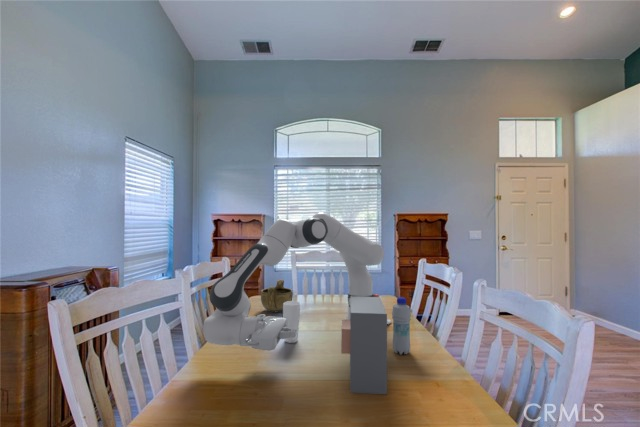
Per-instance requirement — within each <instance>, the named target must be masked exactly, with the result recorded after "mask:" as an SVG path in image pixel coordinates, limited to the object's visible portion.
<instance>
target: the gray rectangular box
mask: <svg viewBox="0 0 640 427" xmlns="http://www.w3.org/2000/svg"><path fill="white" fill-rule="evenodd" d="M381 299H382V298H381V297H380V296H379V297H358V296H350V326H351V339H350V354H349V374H350V375H349V380H350V382H349V384H350V385H349V386H350V388H349V389H350V392H349V393H353V394H354V393H355V394H368V395H369V394H370V395H371V394H373V395H374V394H375V395H388V325H387V318H388V313H387V311H386V308H385V307H384V304H383V302H382V300H381Z"/></svg>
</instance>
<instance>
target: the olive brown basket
mask: <svg viewBox="0 0 640 427" xmlns="http://www.w3.org/2000/svg"><path fill="white" fill-rule="evenodd" d="M284 284H285V280H284V279H282V278H281V279H278V278H277V281H276V286H268V288H263V289H261V293H260V301H261V304H262V306H263V308H264V309H265V310H266V311H268V312H269V313H270V312H271V313H280V312H283V303H284V302H288V301H293V298H294V296H293V289H291V288H288V287H287V288H286V287H285V286H284Z"/></svg>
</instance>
